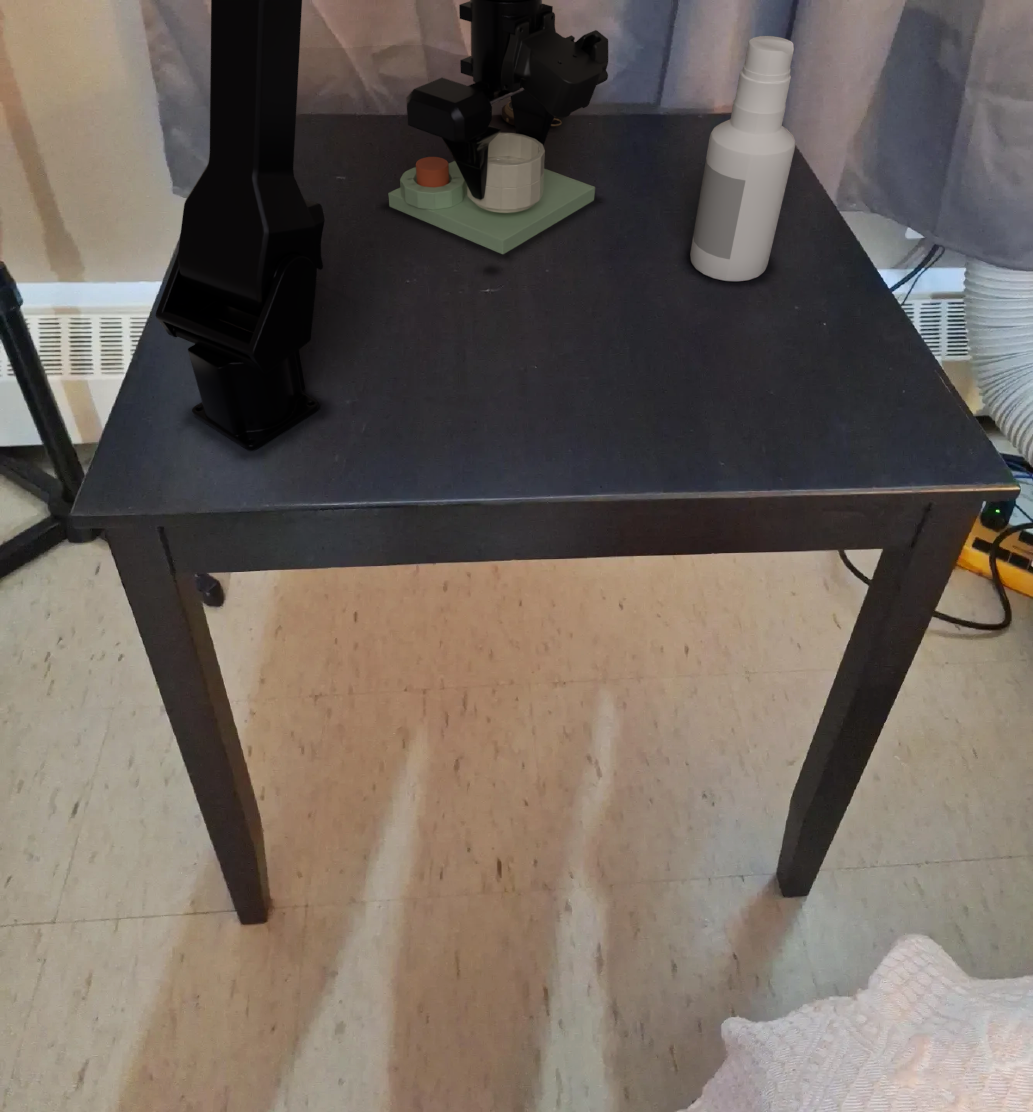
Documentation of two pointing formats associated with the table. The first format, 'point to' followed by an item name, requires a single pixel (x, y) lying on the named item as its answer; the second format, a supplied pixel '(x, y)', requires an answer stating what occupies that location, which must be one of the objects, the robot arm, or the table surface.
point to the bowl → (513, 174)
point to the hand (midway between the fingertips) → (503, 184)
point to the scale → (483, 226)
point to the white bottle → (746, 169)
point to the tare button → (432, 172)
